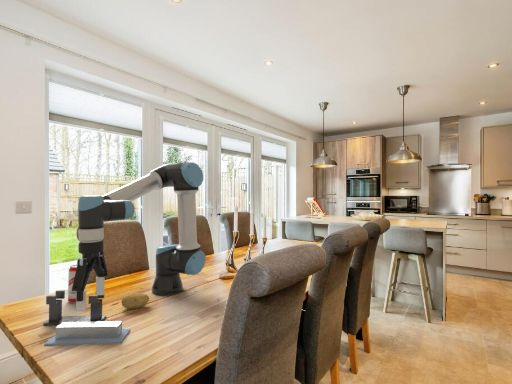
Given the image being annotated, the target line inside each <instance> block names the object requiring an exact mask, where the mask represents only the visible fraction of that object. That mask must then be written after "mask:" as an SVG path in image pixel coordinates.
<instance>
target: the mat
mask: <svg viewBox="0 0 512 384" xmlns="http://www.w3.org/2000/svg"><path fill="white" fill-rule="evenodd" d="M130 332H131V329H130V328H124V329H123V328H122V333H121V334H120V336H119V337H118V338H97V339H57V340H55V334H54V335H53V336H52V337H50V338H49V339H48V340H47V341H46V342H44V344H43V346H75V345H76V346H77V345H82V346H83V345H109V344H111V345H112V344H115V345H116V344H122V343H123V341H124V340H125V339H126V337H127V336H128V335H129V333H130Z"/></svg>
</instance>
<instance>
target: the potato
mask: <svg viewBox="0 0 512 384" xmlns="http://www.w3.org/2000/svg"><path fill="white" fill-rule="evenodd" d="M149 301H150V297H149V295H148V294H147V293H140V292H131V293H126V294H124V295H123V297H122V298H121V300H120V303H121V305H122V307H123V308H124V309H131V310H132V309H140V308H143V307H146V305H147V304H148V303H149Z"/></svg>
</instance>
